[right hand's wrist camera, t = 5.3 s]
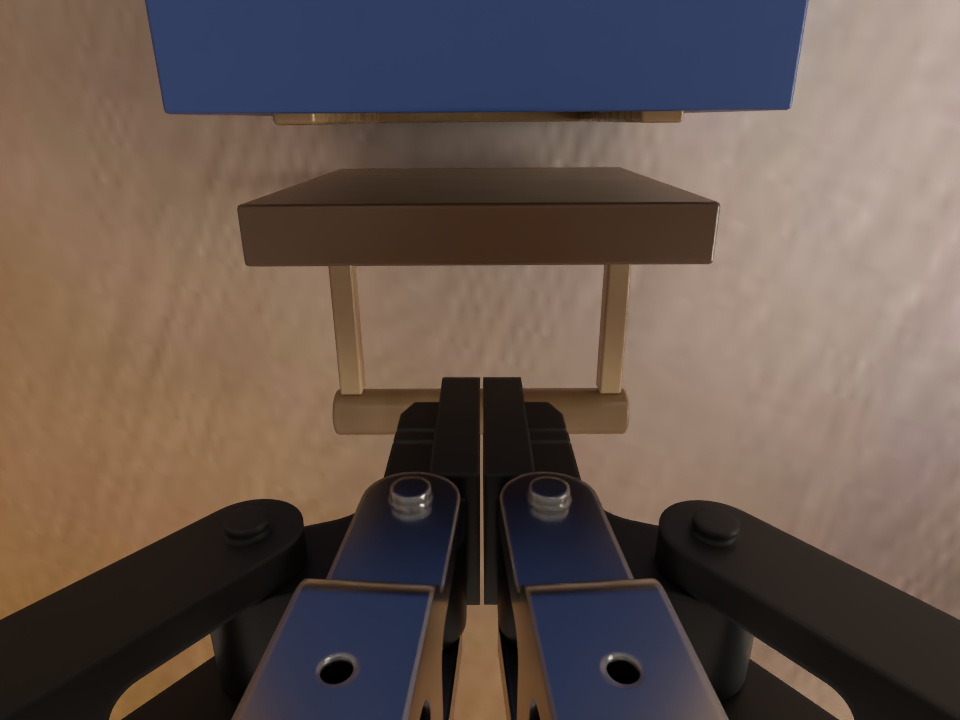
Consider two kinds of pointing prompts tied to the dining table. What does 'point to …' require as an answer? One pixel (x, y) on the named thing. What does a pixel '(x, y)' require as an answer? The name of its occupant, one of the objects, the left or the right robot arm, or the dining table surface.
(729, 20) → the cabinet
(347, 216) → the drawer
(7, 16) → the dining table surface
